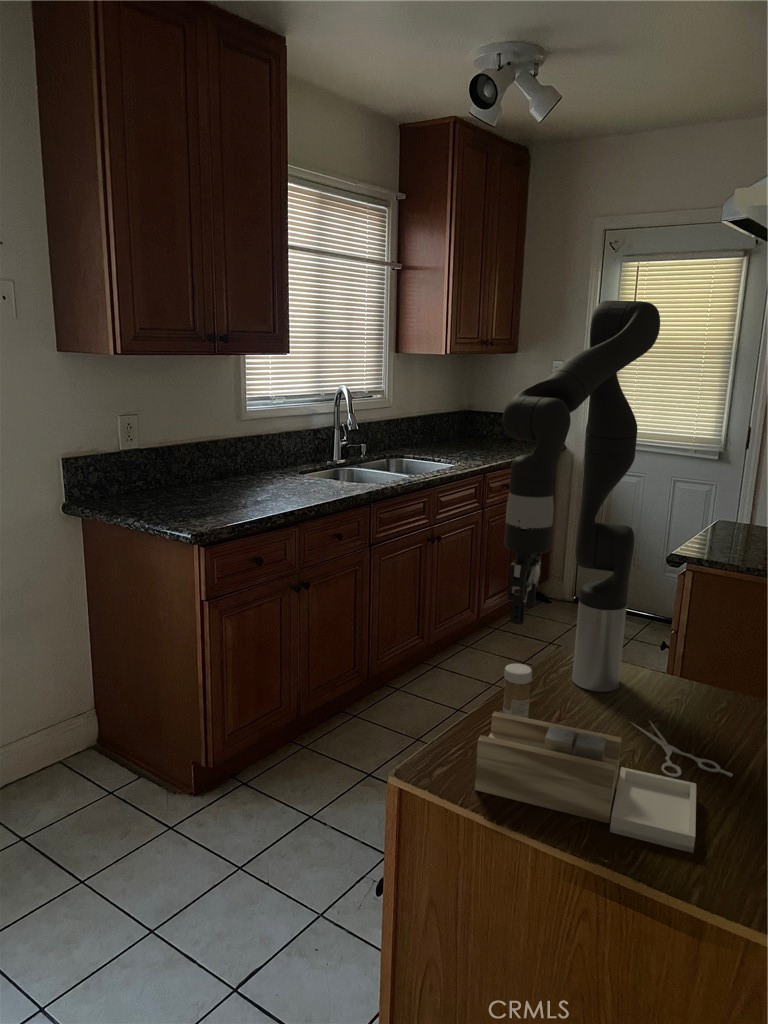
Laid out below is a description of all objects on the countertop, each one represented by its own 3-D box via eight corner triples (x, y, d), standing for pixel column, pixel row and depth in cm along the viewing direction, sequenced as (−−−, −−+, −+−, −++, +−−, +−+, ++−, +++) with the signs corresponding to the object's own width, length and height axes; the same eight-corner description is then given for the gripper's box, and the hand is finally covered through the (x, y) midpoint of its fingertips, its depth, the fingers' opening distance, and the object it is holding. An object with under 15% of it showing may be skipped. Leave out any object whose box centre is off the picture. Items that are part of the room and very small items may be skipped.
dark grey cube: (577, 756, 116) (579, 732, 116) (604, 761, 115) (606, 738, 114) (573, 769, 113) (575, 744, 112) (600, 775, 111) (603, 750, 110)
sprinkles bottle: (498, 733, 134) (503, 662, 131) (524, 733, 134) (529, 662, 131) (502, 746, 129) (507, 673, 126) (529, 747, 129) (534, 674, 126)
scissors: (674, 781, 120) (611, 720, 139) (673, 785, 120) (611, 723, 139) (733, 775, 122) (663, 715, 141) (732, 779, 122) (663, 719, 141)
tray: (619, 781, 120) (621, 766, 119) (694, 798, 116) (696, 783, 115) (609, 831, 107) (611, 816, 107) (693, 853, 103) (695, 836, 103)
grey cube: (547, 749, 118) (549, 726, 117) (574, 755, 117) (576, 731, 116) (543, 762, 114) (544, 738, 114) (569, 768, 113) (571, 743, 112)
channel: (491, 758, 126) (494, 711, 124) (616, 787, 118) (621, 737, 116) (474, 789, 116) (477, 739, 115) (609, 823, 109) (614, 770, 107)
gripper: (516, 510, 131) (510, 599, 134) (495, 527, 118) (489, 625, 121) (559, 514, 128) (552, 605, 132) (544, 532, 115) (536, 633, 119)
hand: (522, 615), depth 126 cm, fingers open, 8 cm apart
